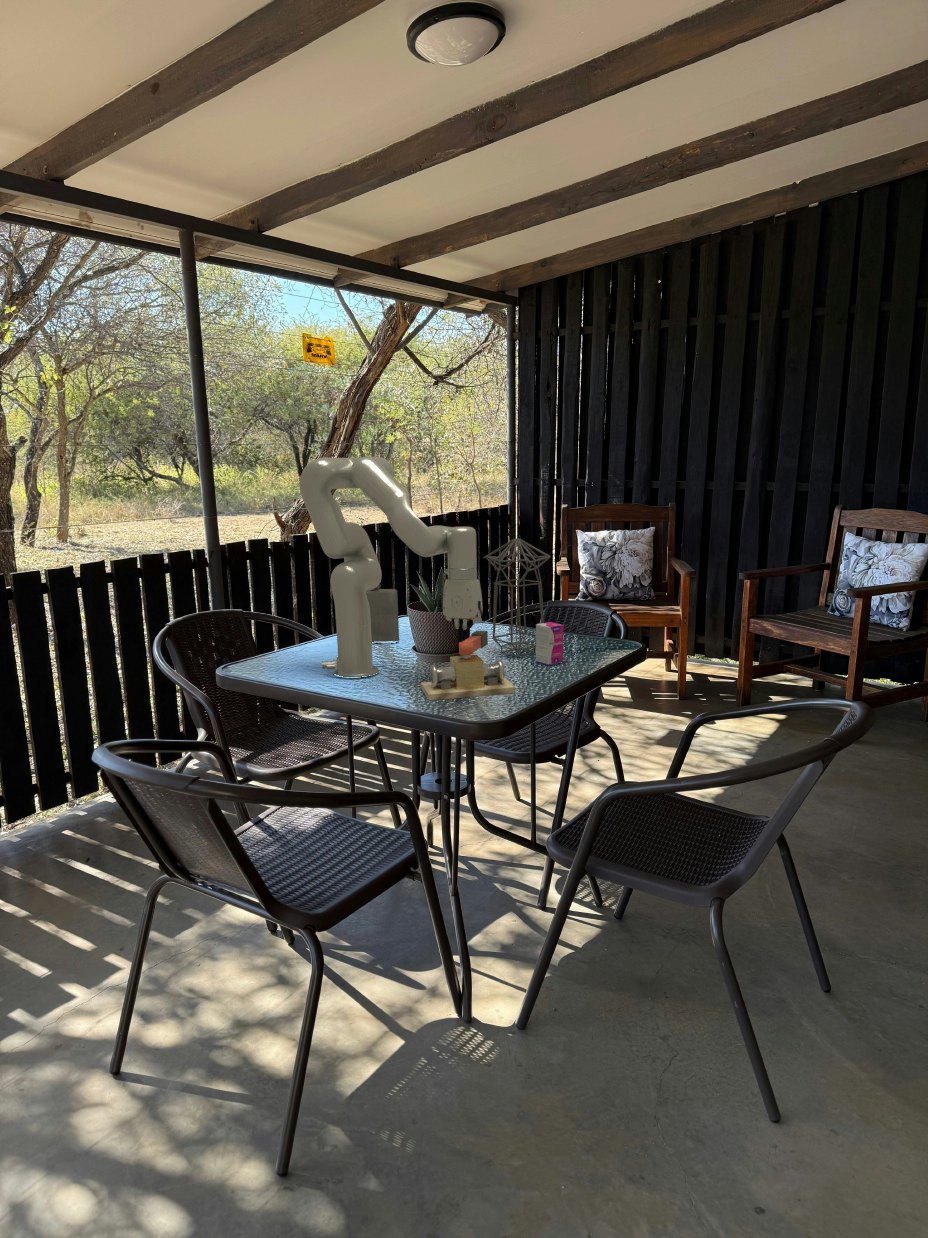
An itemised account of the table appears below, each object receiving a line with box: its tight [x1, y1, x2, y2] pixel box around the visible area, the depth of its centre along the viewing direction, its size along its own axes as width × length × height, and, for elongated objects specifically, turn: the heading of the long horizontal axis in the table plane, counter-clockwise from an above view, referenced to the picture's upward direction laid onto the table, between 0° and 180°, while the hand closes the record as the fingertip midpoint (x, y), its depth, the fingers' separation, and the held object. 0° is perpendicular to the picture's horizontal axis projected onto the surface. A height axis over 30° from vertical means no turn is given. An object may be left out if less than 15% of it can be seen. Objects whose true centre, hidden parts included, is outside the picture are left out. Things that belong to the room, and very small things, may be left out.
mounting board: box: [420, 676, 517, 701], centre depth 204 cm, size 22×12×2 cm, turn 102°
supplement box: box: [535, 621, 564, 667], centre depth 230 cm, size 6×6×12 cm
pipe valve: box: [429, 654, 505, 690], centre depth 203 cm, size 18×8×8 cm, turn 102°
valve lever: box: [458, 630, 489, 659], centre depth 208 cm, size 16×4×4 cm, turn 162°
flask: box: [366, 584, 400, 642], centre depth 265 cm, size 15×6×20 cm, turn 96°
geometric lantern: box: [482, 537, 552, 658], centre depth 241 cm, size 16×16×35 cm
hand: (464, 643), depth 212 cm, fingers closed
